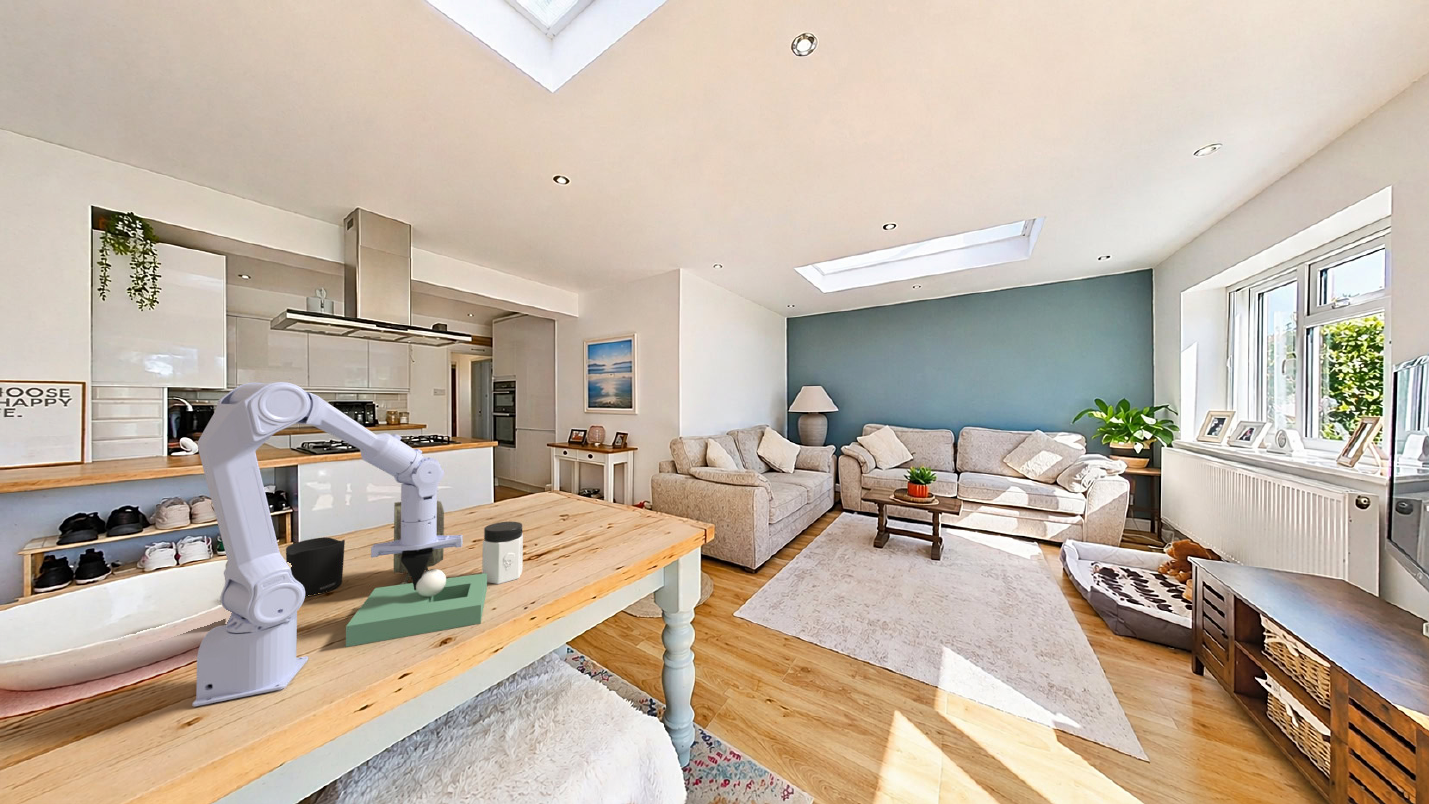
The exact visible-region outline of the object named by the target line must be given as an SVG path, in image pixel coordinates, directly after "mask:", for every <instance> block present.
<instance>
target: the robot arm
mask: <svg viewBox="0 0 1429 804" xmlns="http://www.w3.org/2000/svg"><path fill="white" fill-rule="evenodd" d="M295 424H298V425H308V426H313V427H315V428H317V429H319V430H321V431H323V432H325V433H326V434H329V435H331V436H333V437H335V438H337V439H339V440H340V441H343V442H345V443H347V444H349V445H350V446H352V447H355V448H357V449H359V452H360V457H361V459H362V460H363V461H364V462H366V463H368V464H369V465H372V466H373V467H375V468H377V469H379V470H381V471H383V472H384V473H386V474H387V475H388V474H389V475H390V476H392V477H393V478H394V480H395V481H396V482H397V483H400V485H401V487H400V502H401V540H397V541H394V540H391V541H387V542H381V543H374V544H373V545H372V546H371V548H370V553H371V554H370V558H379V556H387V555H394V554H396V553H402V557H401V562H402V563H403V565H404V566H405V567H406V569H407V571H408V572H409V574H410V577H409V578H410V579H411V583H413V586H414V590H416V584H417V582H418V581H419V580H420V579H421V578H422V575H423V572H425V569H426V566H427V564H428V561H429V559H430V557H431V555H432V553H433V551H434V549H440V548H444V549H446V548H447V549H448V548H456V549H457V548H458V549H459V548H462V547H463V544H464V542H463V541H464V540H463V539H464V537H463V534H457V535H456V534H455V535H448V534H447V535H444V536H437V501H438V500H437V499H438V492H439V488H438V487H439V484H440V482H441V481H442V480H443V478H444V475H445V470H444V469H442V465H441V463H440V462H439V461H438V460H437V459H436V458H434V457H428V456H427V457H426V456H423V451H422V449H419V448H412V447H411V446H409V445H408V444H406V443H404V442H403V441H401V439H402V438H403V437H402V436H400V435H399V434H397V433H391V434H390V433H388V432H384V433H383V432H382V433H378V434H375V433H374V432H372V431H371V430H370V429H368V428H367V427H365V426H364V425H363V424H360V423H359V422H358V421H356V420H354V419H353V418H351V417H350V416H348V414H347V415H346V414H345V413H344V412H342V411H341V410H339V409H338V408H336V407H334V406H333V405H331V404H330V403H329V402H327V401H326V400H325V399H323V398H322V397H320V396H319V395H317V394H315V393H311V392H308V391H306V390H304V389H303V388H302V387H301V386H299V385H296V384H294V383H290V382H287V381H286V382H285V381H276V382H266V383H265V382H264V383H263V382H255V381H253V382H247V383H243V384H241V385H238V386H237V387H235V388H233V389H232V390H230V391H229V392H228V393H226V394H225V395H223V396H222V397H221V398H219V399H218V400H217V402H216V408H215V411H214V413H213V415H212V416H211V418H210V420H209V421H208V423H207V425H206V426H205V428H204V430H203V432H202V434H201V435H200V436H199V439H198V441H197V450H198V454H199V458H200V461H201V465H202V469H203V473H204V476H205V477H204V478H205V480H206V485H207V487H208V492H209V495H210V496H209V497H210V499H211V502H212V506H213V509H214V510H213V511H214V514H215V519H216V522H217V525H218V526H217V527H218V529H219V533H220V536H221V537H220V538H221V541H222V545H223V548H224V552H225V555H226V560H227V561H228V566H227V567H226V566H225V569H224V571H223V576H224V586H223V588H222V591H221V594H220V603H221V606H222V607H223V608H224V610H225V609H226V610H228V611H230V612H232V613H231V616H230V618H229V620H228V622H227V624H226V625H225V624H224V625H217V626H216V627H213V628H211V629H210V630H209V631H208V632H207V633H206V634H205V636H203V638H202V641H201V642H200V644H199V647H198V651H197V656H196V658H197V659H196V694H195V696H196V699H195V700H194V701H193V702H192V707H198V706H203V705H209V704H213V703H218V702H223V701H229V700H235V699H238V698H239V699H240V698H244V697H249V696H254V695H260V694H264V693H270V692H274V691H280V690H283V689H285V688H286V687H287V686H288V685H289V684H290V683H291V681H292V680H293V679H294V677H295V676H296V675H297V674H298V672H299V671H300V670H301V669H302V668H303V666H304V665H305V664H306V663H307V661H309V656H307V655H306V656H301V657H297V643H298V642H297V641H298V640H297V637H298V636H297V635H298V633H297V631H298V629H297V628H298V611H299V609H300V608H301V607H302V605H303V604H304V601H305V598H306V597H305V589H304V587H303V585H302V584H301V583H300V582H298V581H297V580H296V579H295V578H294V577H293V576H292V573H291V568H290V567H289V565H288V564H287V562H286V559H285V558H284V557H283V556H282V553H281V552H280V548H279V544H278V540H277V537H276V535H277V534H276V532H275V528H274V525H273V520H272V516H271V512H270V507H269V502H268V498H267V495H266V490H265V487H264V482H263V479H262V478H263V477H262V474H261V470H260V466H259V462H258V459H257V458H258V457H257V454H256V453H257V450H258V449H259V448H260V447H261V446H262V445H263V444H264V443H266V442H267V441H268V440H269V439H270V438H271V437H273V435H275V434H276V433H278V432H281V431H282V430H285V429H286V428H289V427H291V426H293V425H295ZM407 571H406V572H407Z"/></svg>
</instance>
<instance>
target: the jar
mask: <svg viewBox="0 0 1429 804" xmlns="http://www.w3.org/2000/svg"><path fill="white" fill-rule="evenodd" d="M483 531H484V532H483V535H484V536H483V539H484V540H482V560H481V561H482V567H481V568H482V571H481V572H482V573H481V574H484V573H487V583H489V584H496V585H501V584H504V583H508V582H511V581H515V580H518V579H520V577H521V576H522V575H521V574H522V573H523V562H524V561H523V559H524V558H523V556H524V554H523V551H524V549H523V548H524V547H523V546H524V534H523V524H522V523H521V522H517V521H501V522H495V523H492V524H488V525H486V526H485V527H484V529H483Z"/></svg>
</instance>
